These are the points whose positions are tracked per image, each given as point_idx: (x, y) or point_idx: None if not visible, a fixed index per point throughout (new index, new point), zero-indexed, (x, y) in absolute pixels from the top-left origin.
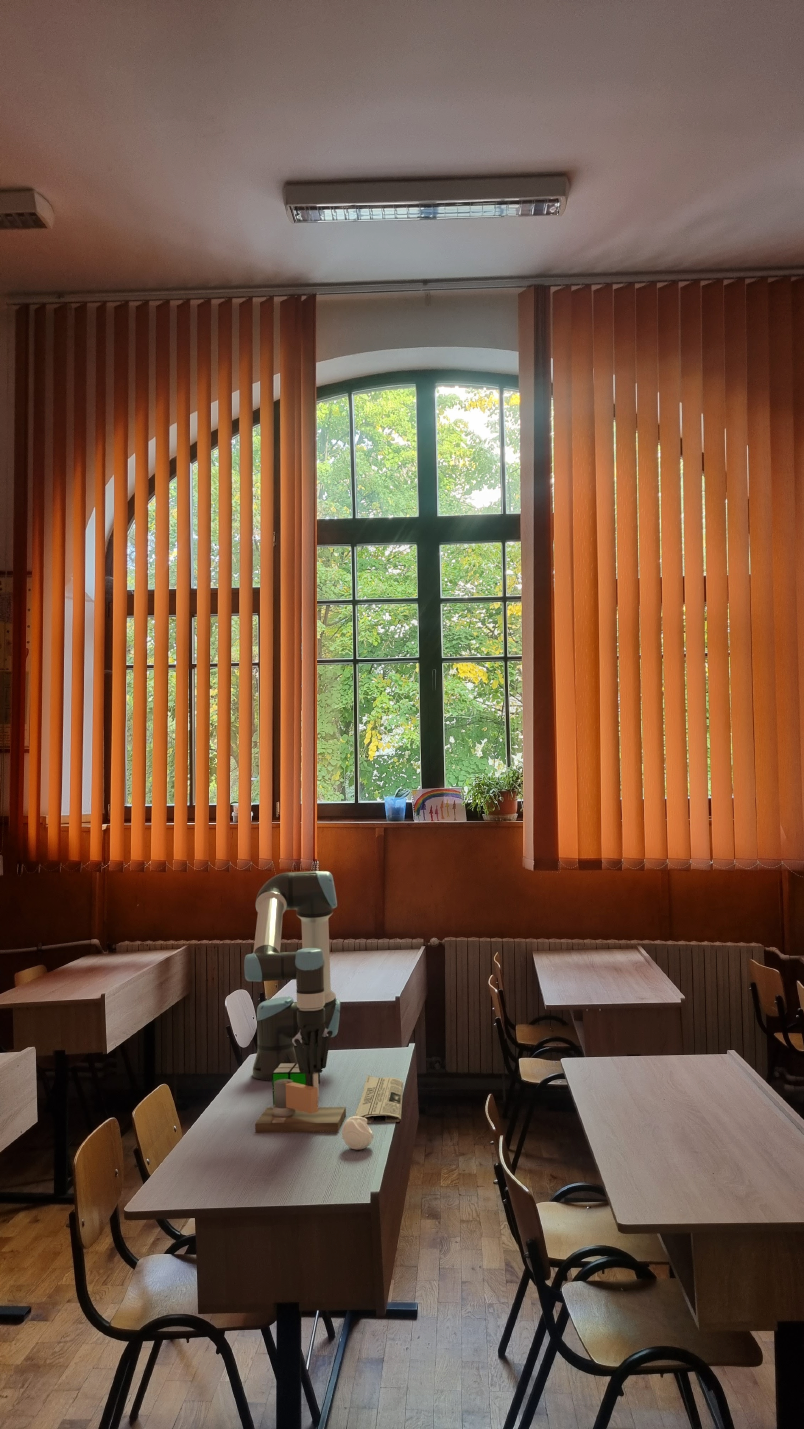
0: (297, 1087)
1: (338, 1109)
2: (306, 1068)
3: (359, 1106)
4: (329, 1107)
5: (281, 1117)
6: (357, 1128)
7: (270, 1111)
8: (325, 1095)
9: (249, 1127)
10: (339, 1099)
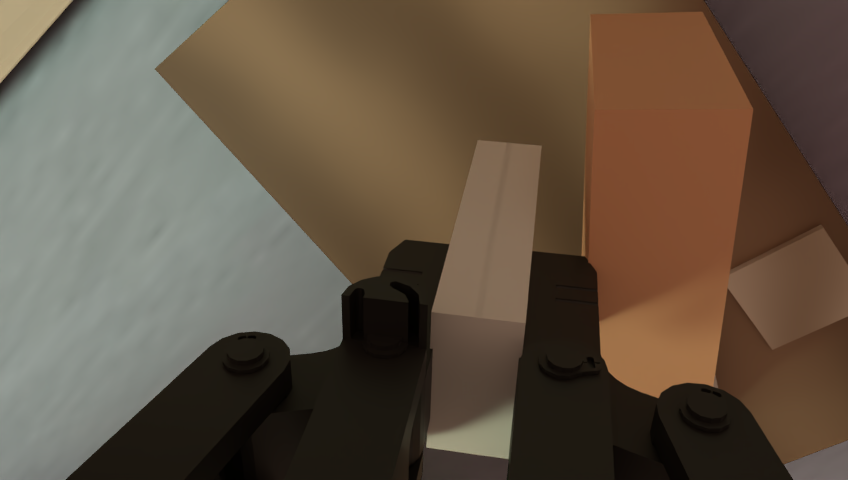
0: (716, 364)
1: (242, 72)
2: (717, 452)
3: (13, 52)
4: (266, 180)
5: None
6: None
7: None
8: (61, 455)
9: (832, 452)
10: (28, 344)
